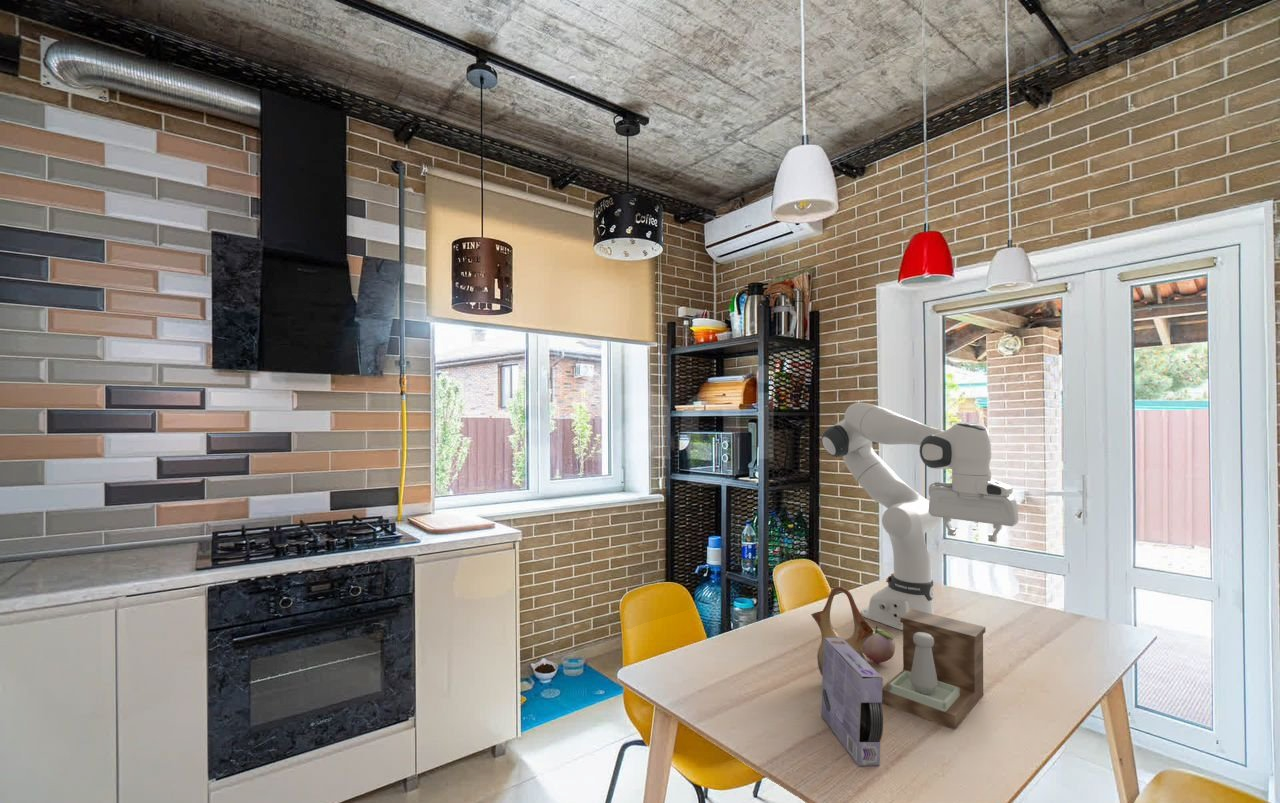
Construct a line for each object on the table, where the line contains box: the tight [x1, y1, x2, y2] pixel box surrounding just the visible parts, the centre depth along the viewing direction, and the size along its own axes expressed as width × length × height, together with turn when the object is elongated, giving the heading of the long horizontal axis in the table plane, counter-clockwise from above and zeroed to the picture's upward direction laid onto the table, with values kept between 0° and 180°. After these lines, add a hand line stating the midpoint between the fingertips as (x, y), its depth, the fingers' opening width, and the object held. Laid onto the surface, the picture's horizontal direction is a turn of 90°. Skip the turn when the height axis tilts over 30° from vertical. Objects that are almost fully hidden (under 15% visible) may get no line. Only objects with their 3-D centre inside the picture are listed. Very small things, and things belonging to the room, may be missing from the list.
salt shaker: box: [910, 632, 938, 695], centre depth 130 cm, size 6×6×13 cm
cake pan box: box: [820, 638, 884, 767], centre depth 116 cm, size 19×5×18 cm, turn 5°
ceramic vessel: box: [811, 586, 875, 678], centre depth 138 cm, size 16×9×25 cm, turn 40°
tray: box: [889, 670, 960, 712], centre depth 130 cm, size 12×10×2 cm
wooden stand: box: [881, 609, 986, 730], centre depth 134 cm, size 17×22×16 cm
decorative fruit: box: [862, 625, 896, 664], centre depth 152 cm, size 9×8×10 cm
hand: (971, 538), depth 146 cm, fingers open, 8 cm apart
